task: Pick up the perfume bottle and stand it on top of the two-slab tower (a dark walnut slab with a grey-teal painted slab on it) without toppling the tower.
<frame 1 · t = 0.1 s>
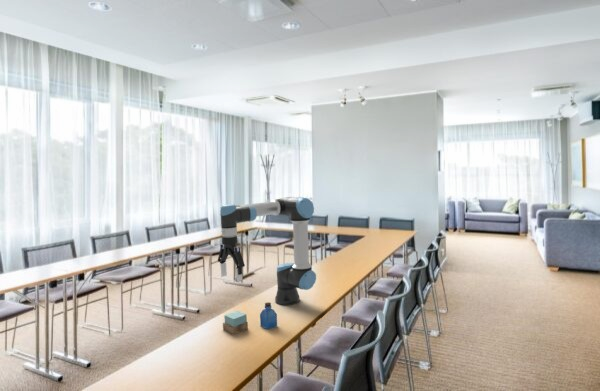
hand: (231, 278, 181), 28 cm above the table, fingers open, 13 cm apart
walnut slab: (235, 330, 188), on the table
perfume bottle: (268, 326, 190), on the table
teal slab: (235, 322, 187), point 4 cm above the table
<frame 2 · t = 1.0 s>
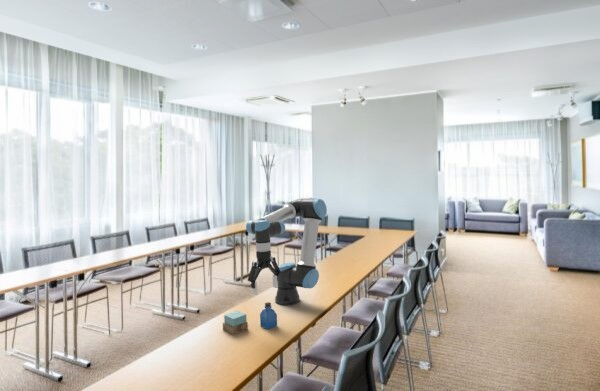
hand: (265, 290, 189), 19 cm above the table, fingers open, 13 cm apart
walnut slab: (235, 330, 187), on the table, touching teal slab
teal slab: (235, 322, 188), point 4 cm above the table, touching walnut slab
everything else where it was.
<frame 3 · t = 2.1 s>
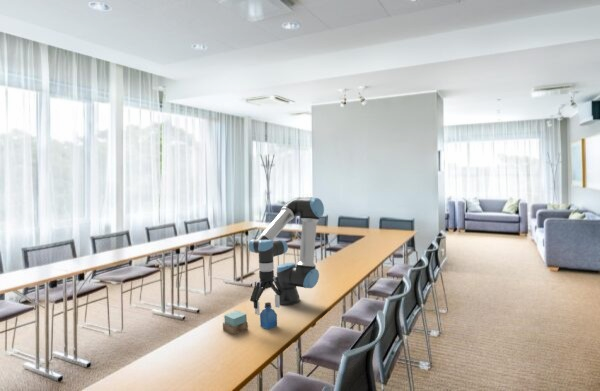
hand: (267, 310, 189), 8 cm above the table, fingers open, 13 cm apart
nothing on the table moved.
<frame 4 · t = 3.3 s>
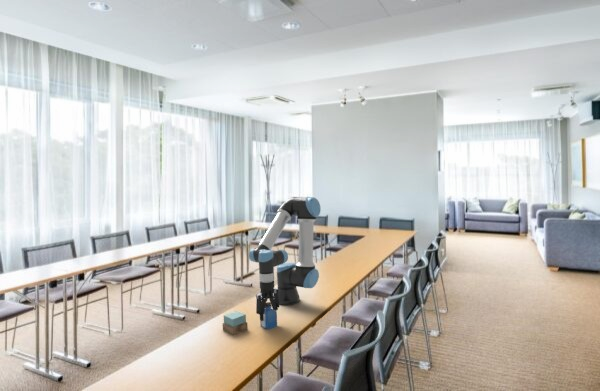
hand: (268, 324, 190), 1 cm above the table, fingers closed on perfume bottle, 6 cm apart
perfume bottle: (268, 326, 190), on the table, touching gripper
everything else where it was.
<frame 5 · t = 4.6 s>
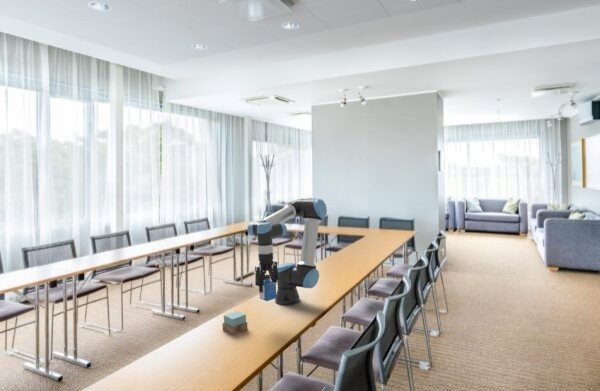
hand: (268, 296, 190), 16 cm above the table, fingers closed on perfume bottle, 6 cm apart
walnut slab: (235, 330, 187), on the table
perfume bottle: (268, 298, 190), point 14 cm above the table, touching gripper
teal slab: (235, 322, 187), point 4 cm above the table
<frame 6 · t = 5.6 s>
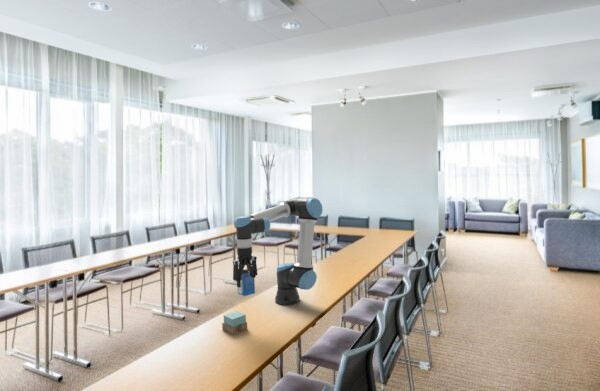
hand: (246, 291, 187), 19 cm above the table, fingers closed on perfume bottle, 6 cm apart
walnut slab: (235, 330, 187), on the table, touching teal slab
perfume bottle: (246, 293, 187), point 18 cm above the table, touching gripper
teal slab: (235, 322, 187), point 4 cm above the table, touching walnut slab
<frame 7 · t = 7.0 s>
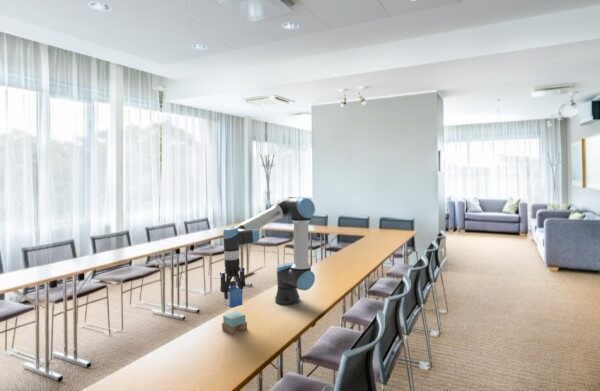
hand: (233, 302, 187), 14 cm above the table, fingers closed on perfume bottle, 6 cm apart
perfume bottle: (234, 305, 187), point 13 cm above the table, touching gripper
everything else where it was.
when the fingers open (11 cm above the table, at t = 7.9 s): perfume bottle drops 2 cm, resting on teal slab.
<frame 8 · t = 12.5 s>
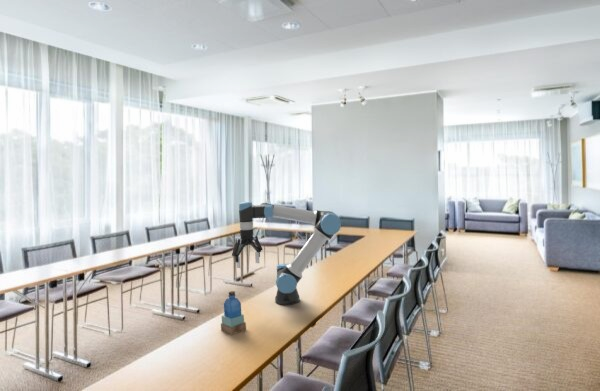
hand: (248, 265, 211), 27 cm above the table, fingers open, 13 cm apart
perfume bottle: (232, 315, 187), point 7 cm above the table, touching teal slab
teal slab: (233, 322, 187), point 3 cm above the table, touching perfume bottle, walnut slab
everything else where it was.
at the end: perfume bottle 0.1 cm off-centre on the teal slab, point 3.8 cm above the teal slab's base; perfume bottle tilted 0°; teal slab tilted 0° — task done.
